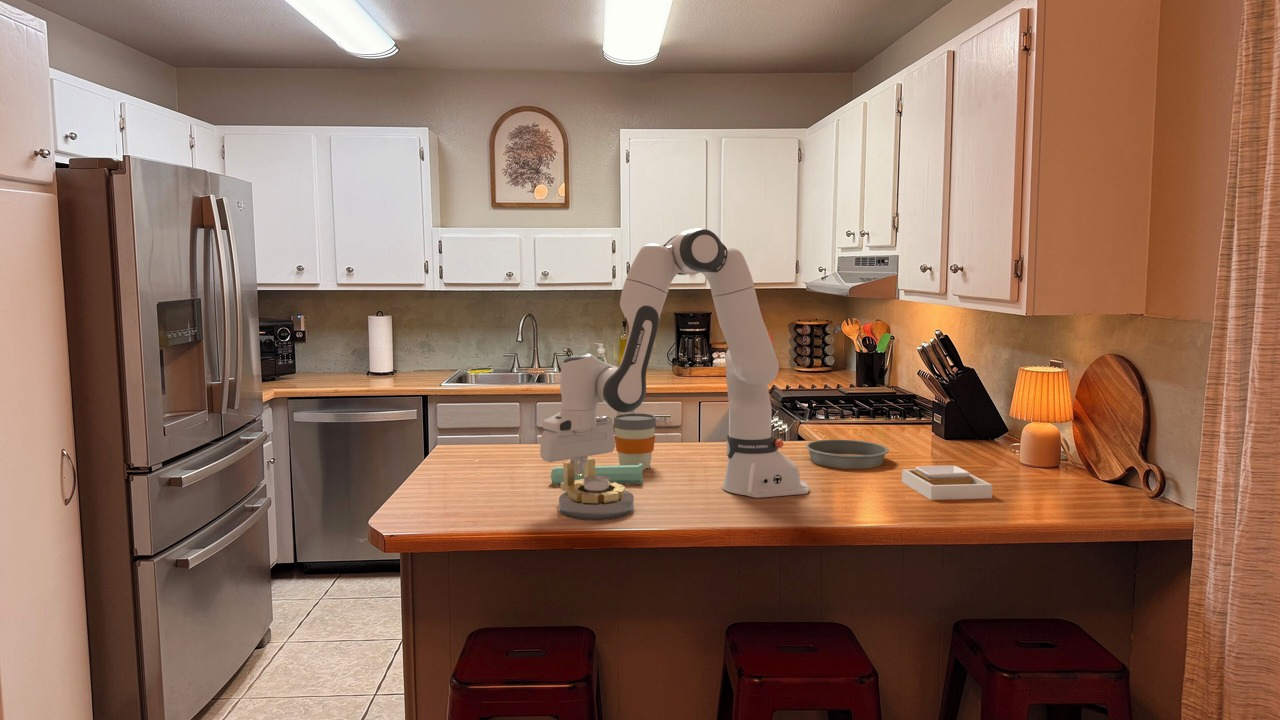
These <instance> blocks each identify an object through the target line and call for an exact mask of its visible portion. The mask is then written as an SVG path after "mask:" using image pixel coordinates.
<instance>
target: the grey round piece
mask: <svg viewBox="0 0 1280 720" xmlns="http://www.w3.org/2000/svg"><path fill="white" fill-rule="evenodd" d="M562 491H563V493H561V494H560V495H559V497H558V510H559V511H558V512H559V513H560V514H561V515H562V516H564V517H567V518H571V519H575V520H584V521H605V520H604V519H608V520H614V519H613V518H615V519H619V517H620V518H622V517H623V518H624V517H626V516H629V515H630V514H632V513H633V512H634V508H635V506H634V505H635V504H634V503H635V499H634V494H633V493H632V492H630V491H628V490H625V496H624V497H623V498H622V499H619V500H618V501H613V502H607V503H603V502H601V501H600V502H599V503H582V501H578V502H576V501H574V500H572V499H569V498H568V496H567V492H566V491H564V490H562ZM584 492H586V493H603V492H609V478H608V477H605V476H589V477H586V478H584ZM632 511H633V512H632ZM631 512H632V513H631ZM628 514H629V515H628Z"/></svg>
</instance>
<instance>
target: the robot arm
mask: <svg viewBox="0 0 1280 720" xmlns="http://www.w3.org/2000/svg"><path fill="white" fill-rule="evenodd" d="M700 273H701V274H702V275H704V277H705V278H706V280H707V282H708V284H709V287H710V292H711V296H712V299H713V300H712V301H713V305H714V309H715V312H716V316H717V320H718V326H719V327H720V329H721V333H722V335H723V337H724V340H725V342H726V345H727V348H728V349H727V351H726V352H725V357H724V362H725V376H726V389H727V397H728V413H729V414H728V435H727V437H726V438H727V439H726V456H727V464H726V471H725V475H724V480H723V484H722V486H721V487H722V489H723V490H724V491H725V492H728V493H731V494H736V495H742V496H748V497H752V498H757V499H761V498H769V497H771V498H772V497H773V498H774V497H782V496H793V495H794V496H795V495H806V494H808V493H809V491H810V489H809V488H810V487H809V485H808V484H807V483H806V482H805V481H803V480H801V477H800V471H799V469H798V466H797V465H796V463H795V462H793V461H792V460H791V459H790V458H789V457H787V455H785V454H783V453H782V452H781V451H779V449H782V448H783V447H784V445H785V444H784V441H783V440H781V439H778V438H776V437H775V436H773V435H772V411H773V410H772V403H771V399H770V393H769V384H771V383H772V382H774V380H775V379H776V377H777V376H778V374H779V371H780V370H779V369H780V363H779V360H778V357H777V354H776V352H775V350H774V345H773V343H772V339H771V337H770V334H769V332H768V329H767V326H766V324H765V322H764V319H763V315H762V312H761V309H760V304H759V300H758V297H757V293H756V288H755V285H754V281H753V277H752V274H751V271H750V269H749V266H748V264H747V260H746V259H745V257H744V255H743V253H742V252H741V251H740V250H738V249H736V248H732V247H726V246H725V244H724V243H723V242H722V241H721V239H720V238H719V237H718V236H717V235H716V234H715V233H714V232H713V231H712V230H709V229H707V228H701V227H696V228H693V229H688V230H684V231H682V232H680V233H679V234H676V235H674V236H673V237H671V238H670V239H669V240H668V241H667V242H665V244H663V245H661V244H659V243H649V244H645V245H643V246H642V247H641V248H640V249H639V251H638V252H637V254H636V256H635V257H634V260H633V261H632V264H631V266H630V269H629V270H628V272H627V276H626V279H625V281H624V284H623V286H622V289H621V294H620V301H619V305H620V306H619V307H620V309H621V312H622V313H623V315H624V317H625V319H626V321H627V324H628V337H627V341H626V344H625V346H624V347H625V348H624V352H623V355H622V358H621V361H620V364H619V366H616V365H613V364H609V363H607V362H605V361H602V360H601V359H599V358H597V357H595V356H594V355H593V354H592V353H587V352H584V353H576V354H572V355H569V356H567V357H566V358H564V359H563V362H562V363H561V369H560V379H559V380H560V383H559V388H560V389H559V391H560V394H561V404H560V409H559V410H560V411H559V412H557V413H555V414H553V415H552V416H550V417H548V418H546V419H544V420H542V428H543V429H544V431H542V434H541V436H540V448H539V449H540V451H539V452H540V458H541V460H542V461H544V462H547V463H555V462H561V461H568V460H569V461H571V462H573V463H574V468H575V475H582V474H584V467H585V465H586V463H587V461H588V459H589V458H588V457H590V456H592V457H593V456H596V455H604V454H608V453H609V454H610V453H613V452H614V450H616V444H615V433H614V432H615V431H614V420H613V419H612V418H611V417H609V416H608V415H605V416H604V415H603V416H597V405H598V404H601V403H603V404H605V405H607V406H609V407H610V408H611V409H613V410H614V411H616V412H619V413H629V412H630V413H631V412H633V411H635V410H637V409H638V408H639V407H640V406H641V405H642V404H643V402H644V400H645V398H646V394H647V378H646V377H647V371H648V366H649V361H650V358H651V354H652V350H653V348H654V343H655V339H656V335H657V332H658V327H659V322H660V318H661V314H662V310H663V307H664V305H665V302H666V299H667V296H668V292H669V289H670V287H671V283H672V282H673V281H674V279H675V277H676V276H677V275H679V276H686V275H697V274H700Z"/></svg>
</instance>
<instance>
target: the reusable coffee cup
mask: <svg viewBox="0 0 1280 720" xmlns="http://www.w3.org/2000/svg"><path fill="white" fill-rule="evenodd" d="M656 421H657V420H656V415H653V414H649V413H648V414H647V413H640V412H639V413H636V412H635V413H634V412H633V413H631V412H630V413H622V414H617V415H615V416H614V418H613V428H614V432H615V433H614V439H615V451H616V452H617V455H618V463H619V466H623V465H639V463H642V469H645V470H647V469H646V468H648V469H650V468H651V463H652V454H653V451H654V449H655V443H656V442H655V441H656V435H655V430H656V427H657V423H656ZM649 467H650V468H649Z"/></svg>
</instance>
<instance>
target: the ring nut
mask: <svg viewBox="0 0 1280 720" xmlns="http://www.w3.org/2000/svg"><path fill="white" fill-rule="evenodd" d="M595 466H596V458H595V459H594V458H592V457H589V458H588V461H587V463H586V465H585V467H584V478H586V477H589V476H595ZM562 467H563V480H564V482H562V483H560V491H563V490H564V491H563V492H567V496H568V498H569V499H572V500H574V501H576V502H578V501H582V503H599V502H600V501H601V502H603V503H607V502H613V501H618V500H619V499H622V498H623V497H624V496H625V491H626V487H625V485H624V484H618V483H610V482H609V492H603V493H586V492H584V479H580V480H575V472H574V463H573V462H571V461H570V460H569V461H568V460H567V461H564V462H563V466H562Z"/></svg>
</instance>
